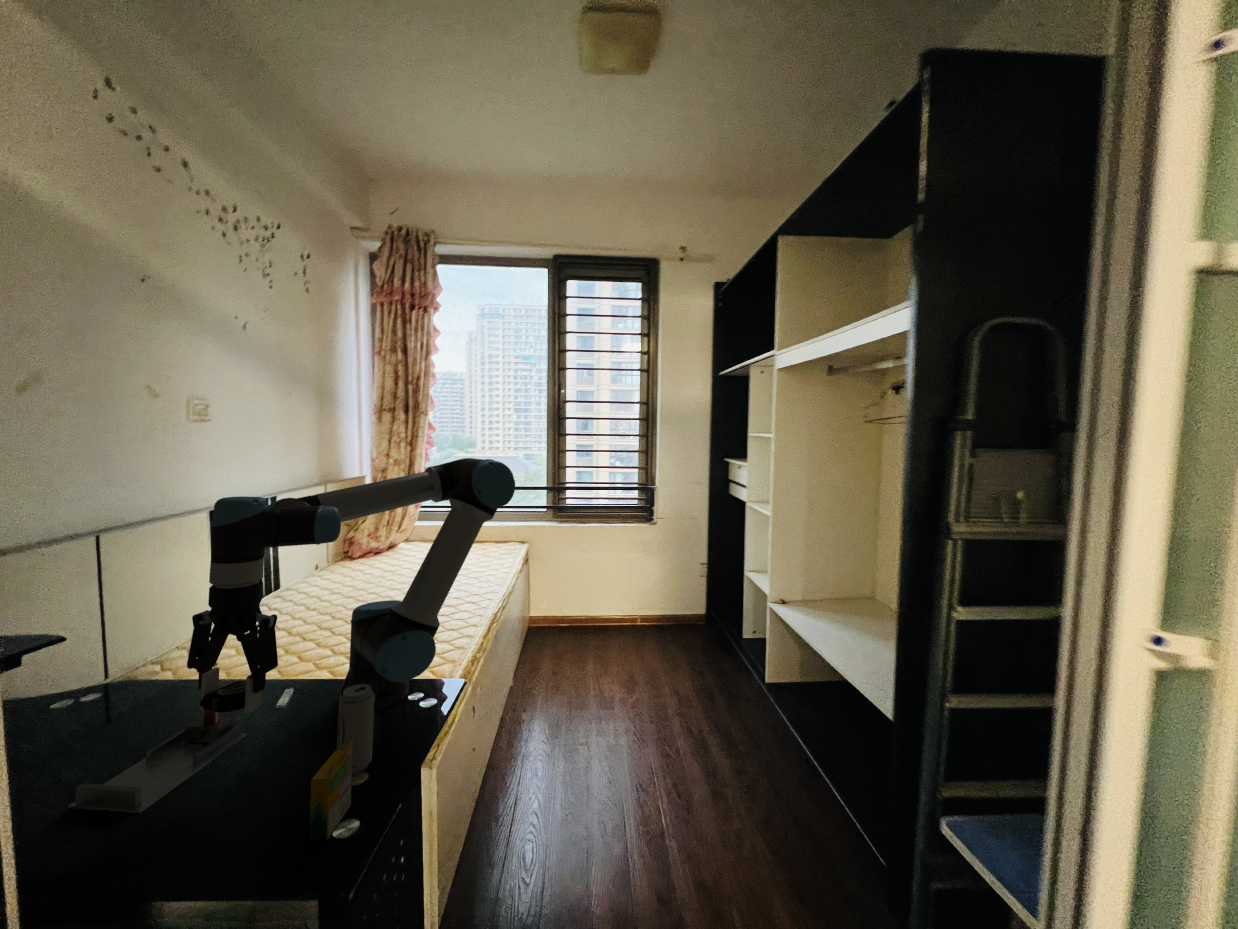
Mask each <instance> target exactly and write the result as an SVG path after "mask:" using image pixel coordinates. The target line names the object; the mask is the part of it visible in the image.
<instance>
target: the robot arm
mask: <svg viewBox="0 0 1238 929" xmlns="http://www.w3.org/2000/svg"><path fill="white" fill-rule="evenodd" d="M515 490H516V481H515V477H514V474H513V472H512V470H511V469H510V468H509V467H508V466H507V465H506V464H505V463H503V462H501V461H497V460H494V459H492V458H490V459H489V458H488V459H487V458H486V459H481V458H480V459H479V458H473V457H471V458H470V457H468V458H467V457H466V458H459V459H455V460H452V461H448V462H444V463H441V464H438V465H433V466H427V468H425V469H424V471H423V472H418V473H413V474H409V475H403V476H399V477H393V478H389V479H384V480H379V481H374V482H369V483H365V484H359V485H355V486H351V487H350V486H349V487H346V488H345V487H344V488H341V489H335V490H330V491H325V492H321V493H316V494H313V495H306V496H302V497H286V498H281V499H278V500H276V501H274V503H273V504H271V505H270V506H269V505H268V500H267V499H266V498H265V497H262V496H228V497H227V496H226V497H222V498H219V499H218V500H217V501H216V502H215V503H214V505H213V513H212V522H211V536H210V537H211V538H210V540H211V543H210V547H211V548H210V564H209V567H210V568H209V581H208V582H209V584H211V586H210V587H209V588H208V604H207V605H208V607H209V608H210V610H208V609H206V610H204V611H201V612H198V613H196V614H193V615H192V616H191V619H192V620H191V621H192V626H193V630H192V635H191V639H190V644H189V645H190V646H189V651H188V655H187V656H188V657H187V661H186V662H187V663H186V667H187V669H188V670H192V669H194V670H196V673H198V680H197V681H198V682H197V684H198V685H197V686H198V690H200V700H202V699H203V697H204V695H206V694H208V693H210V692H212V691H215V690H217V689H218V688H219V680H220V666H219V667H216V666H218V665H219V663H218V662H217V661H218V659H219V657H220V655H221V653H222V651H223V648H224V645H225V643H226V641H227V639H228V637H229V636H230V635H231V636H235V638H236V640H237V642H239V643H240V645H241V648H242V650H243V653H244V656H245V660H246V662H247V665H248V668H249V671H250V674H249V675H247V676H246V677H245V681H246V696H245V708H244V713H245V714H250V713H251V712H253V711H255V710H256V709H258V708H259V707H260V706H261V704H262V691H263V690H265V688H266V681H267V678H266V677H267V673H269V672H270V671H272V670H274V669H276V668H277V667H278V666H279V658H278V649H277V648H278V645H277V636H276V625H277V621H278V615H277V614H275V613H273V614H271V615H267V614H264V613H263V612H262V610H261V607H260V604H261V603H262V600H263V596H264V595H263V593H264V590H263V589H264V582H263V581H262V579H263V578H264V570H265V569H264V568H265V567H264V566H265V565H264V564H265V563H264V562H265V552H266V548H279V547H291V546H292V547H293V546H305V545H306V546H309V545H316V546H319V545H322V544H327V543H328V544H329V543H334V542H336V541H337V540H338V538H339V537H340V534H341V530H342V523H344V522H348V521H352V520H355V519H360V518H364V517H367V516H372V515H376V514H379V513H380V514H381V513H384V512H387V511H392V510H397V509H401V508H404V507H407V506H408V507H409V506H411V505H412V506H413V505H417V504H420V503H421V504H422V503H425V502H427V501H432V502H434V503H441V502H444V501H449V504H450V510H449V512H448V514H447V516H446V518H445V519H444V521H443V524H442V525H441V527H440V529H439V530H438V533H437V534H436V536H435V538H434V540H433V542H432V544H431V546H430V548H429V550H428V552H427V554H426V556H425V557H424V559H423V561H422V563H421V565H420V567H419V569H417V570H418V571H417V573H416V575H415V576H414V578H413V580H412V582H411V584H410V585H409V587H408V590H407V591H406V593H405V595H404V597H403V599H402V601H401V600H398V599H397V600H396V599H394V600H393V599H392V600H391V599H389V600H378V601H373V602H367V603H363V604H361V605H358V606H356V607H355V608H354V609H353V611H352V613H351V619H350V623H351V624H350V625H351V626H350V642H349V643H350V645H349V650H350V651H349V668H348V671H347V673H346V676H345V679H344V680H343V684H342V686H341V689H340V692H339V700H340V699H341V697H342V695H343V691H344V690H345V689H346V688H348V687H350V686H353V685H356V684H369V685H371V687H372V689H371V690H372V691H373V693H374V694H375V702H374V712H376V711H380V710H383V709H387V708H389V707H392V706H394V705H396V704H398V703H401V701H402V700H403V699H405V698H406V697H407V695H408V693H409V686H410V684H409V682H410V681H411V680H413V679H414V678H416V677H418V676H420V675H422V674H423V673H424V672H426V670H427V669H428V668H429V667H430V665H431V664H432V663H433V661H434V658H435V655H436V651H437V645H436V642H435V635H436V634H437V632H438V630H439V627H440V625H441V624H440V621H439V617H438V616H439V613H440V611H441V609H442V607H443V605H444V602H445V601H446V600H447V599H446V598H447V597H448V595H449V593H450V591H451V589H452V587H453V585H454V583H455V580H456V579H457V577H458V575H459V573H460V571H461V568H463V565H464V563H465V560H466V559H467V557H468V555H469V553H470V551H471V549H472V547H473V545H474V543H475V541H476V539H477V537H478V535H479V533H480V531H481V528H482V527H483V524H484V523H485V522H488V521H491V520H493V519H494V517H495V514H496V512H497V511H498V509H499V508H502V507H504V506H506V505H508V504H509V502H510V501H511V500H512V498H513V497H514V494H515ZM339 700H338V701H339ZM199 706H200V705H199ZM199 710H200V711H204V709H203V707H202V706H200V708H199Z"/></svg>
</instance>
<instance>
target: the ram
mask: <svg viewBox="0 0 1238 929" xmlns="http://www.w3.org/2000/svg"><path fill="white" fill-rule="evenodd" d="M219 688H221V680H220V679H219ZM219 688H218V689H219ZM236 726H237V716H228V715H227V716H225V715H220V712H216V711H214V710H210V711H207V710H203V714H202V715H201V716H199V717H197V718H196V719H194V720H192V721H191V722H189V723H188V724H186V725H185V726H184V729H185V739H184V741H196V742H210V743H212V742H214V741H215V740H216V739H218V738H219V737H221V736H222V735H224V734H225V733H227V732H228V731H230V730H231V729H233V728H234V727H236Z"/></svg>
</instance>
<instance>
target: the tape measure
mask: <svg viewBox="0 0 1238 929" xmlns="http://www.w3.org/2000/svg"><path fill="white" fill-rule="evenodd" d="M245 696H246V680H238V681H233V682H231V683H228V684H226V685H224V686H222V687H221V686H220V688H219V689H217V690H215V691H212V692H210V693H208V694H206V695H204V697H203V699H202V700H201V699H200V700H199V706H202V707H203V709H204V710H207V711H210V710H214V711H216V712H219V714H220V713H230V712H231V713H233V712H235V711H240V710H242V709H245ZM204 710H203V711H204Z"/></svg>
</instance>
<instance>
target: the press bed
mask: <svg viewBox="0 0 1238 929" xmlns="http://www.w3.org/2000/svg"><path fill="white" fill-rule="evenodd" d="M247 736H248V733H247V732H246V733H245V732H243V724H236V727H234V728H233V729H231V730H230V731H228V732H227V733H225V734H224V735H222V736H221V737H219V738H218V739H216V740H215V741H214V742H212V743H210V742H196V741H184V739H185V728H184V729H182V730H181V731H179V732H177V733H176V734H173V735H171V736H170V737H169V738H167V739H166V740H164V741H162V742H160V743H159V744H158V745H156V746H154V747H152V748H151V749H149V750H147V751H146V754H145V756H146V757H145V758H143V759H141V760H140V761H138V762H136V763H135V764H133V765H132V766H130V767H129V768H127V769H125V770H123V771H122V772H120V773H119V774H117V775H115V776H114V777H112V778H111V779H109V780H107V781H106V782H104V783H103V784H101V783H100V784H99V783H86V782H84V783H83V782H82V783H81V784H80V785H78V786H76V787H75V801H74V802H72V803H71V804H69V805H68V808H69V809H77V810H78V809H79V810H89V811H90V809H92V810H91V811H103V810H109V811H108V812H116V811H121V812H120V813H131V814H132V813H133V814H141V813H143V812H144V811H146V810H147V809H148V808H150V807H151V806H152V805H153V804H155V803H156V802H158V801H159V800H160V799H162V798H163V797H164V796H166V795H167V794H168V793H170V792H171V791H172V790H174V789H176V787H179V785H181V784H182V783H183V782H185V781H187V780H188V779H189V778H190V777H192V776H193V775H195V774H197V773H198V772H199V771H200V770H202V769H203V768H204V767H206V766H208V764H210V763H211V762H212V760H213V761H214V760H215V759H217V758H218V757H219V756H221V755H222V754H223V752H224V753H225V752H226V751H228V750H229V749H230V748H232V747H233V746H235V745H236V744H237V743H239V742H241V740H243V739H244V738H246V737H247ZM227 749H228V750H227ZM220 754H221V755H220ZM216 757H217V758H216Z"/></svg>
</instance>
